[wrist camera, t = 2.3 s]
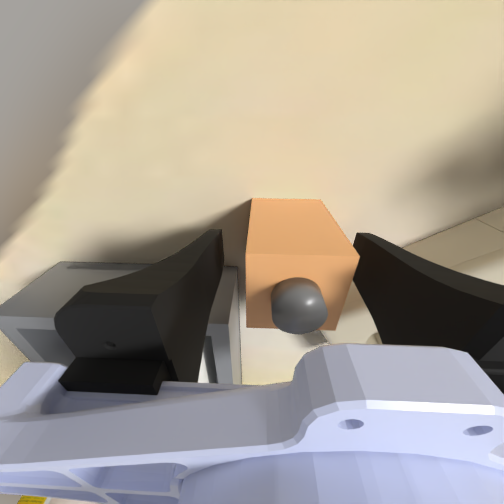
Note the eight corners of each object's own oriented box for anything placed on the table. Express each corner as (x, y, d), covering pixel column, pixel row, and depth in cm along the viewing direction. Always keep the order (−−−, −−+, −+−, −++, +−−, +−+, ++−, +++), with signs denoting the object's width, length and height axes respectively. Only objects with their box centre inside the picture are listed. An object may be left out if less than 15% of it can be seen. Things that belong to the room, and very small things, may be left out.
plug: (310, 256, 15) (342, 351, 9) (251, 254, 15) (245, 347, 9) (320, 199, 13) (372, 274, 7) (252, 198, 13) (243, 270, 7)
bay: (241, 382, 24) (237, 439, 20) (127, 377, 24) (99, 432, 20) (237, 266, 15) (228, 324, 11) (60, 261, 16) (-14, 315, 12)
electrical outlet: (720, 295, 11) (354, 382, 16) (607, 251, 14) (338, 336, 20) (807, 162, 7) (316, 328, 13) (634, 147, 11) (304, 283, 17)
